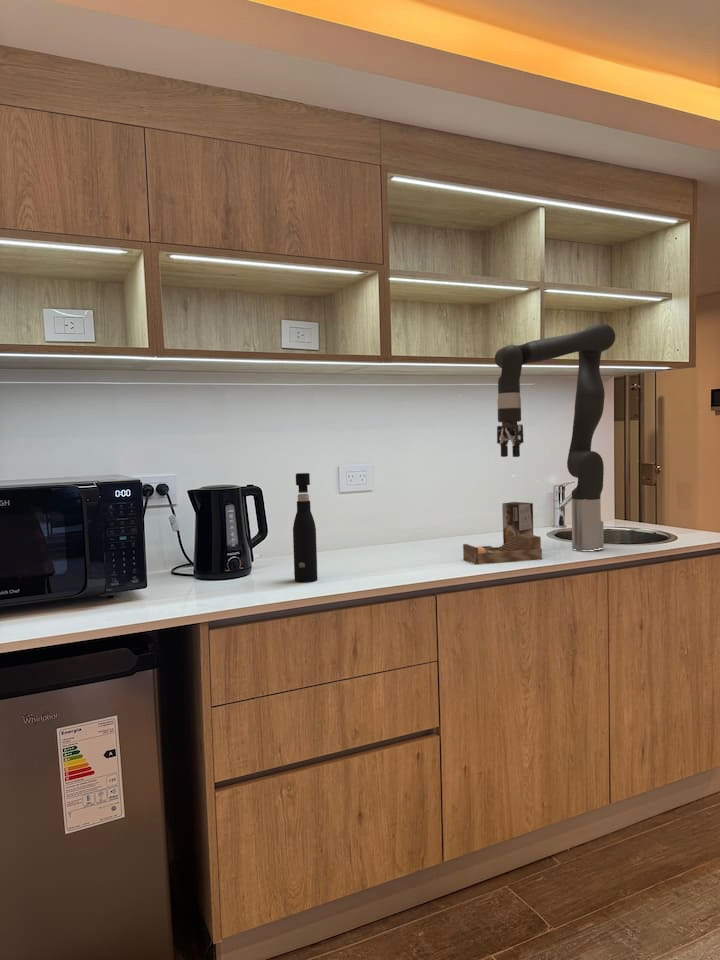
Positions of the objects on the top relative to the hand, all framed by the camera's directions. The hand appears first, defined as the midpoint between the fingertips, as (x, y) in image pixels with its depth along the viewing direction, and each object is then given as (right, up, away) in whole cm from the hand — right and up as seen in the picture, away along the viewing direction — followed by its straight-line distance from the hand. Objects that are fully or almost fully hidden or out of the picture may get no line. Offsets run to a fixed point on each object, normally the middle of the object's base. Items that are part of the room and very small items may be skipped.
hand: (510, 456), depth 222 cm
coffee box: (+5, -32, +10) cm, 34 cm away
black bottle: (-65, -36, -33) cm, 81 cm away
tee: (-7, -32, +2) cm, 33 cm away
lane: (-5, -33, -9) cm, 34 cm away
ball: (-12, -33, -11) cm, 37 cm away
